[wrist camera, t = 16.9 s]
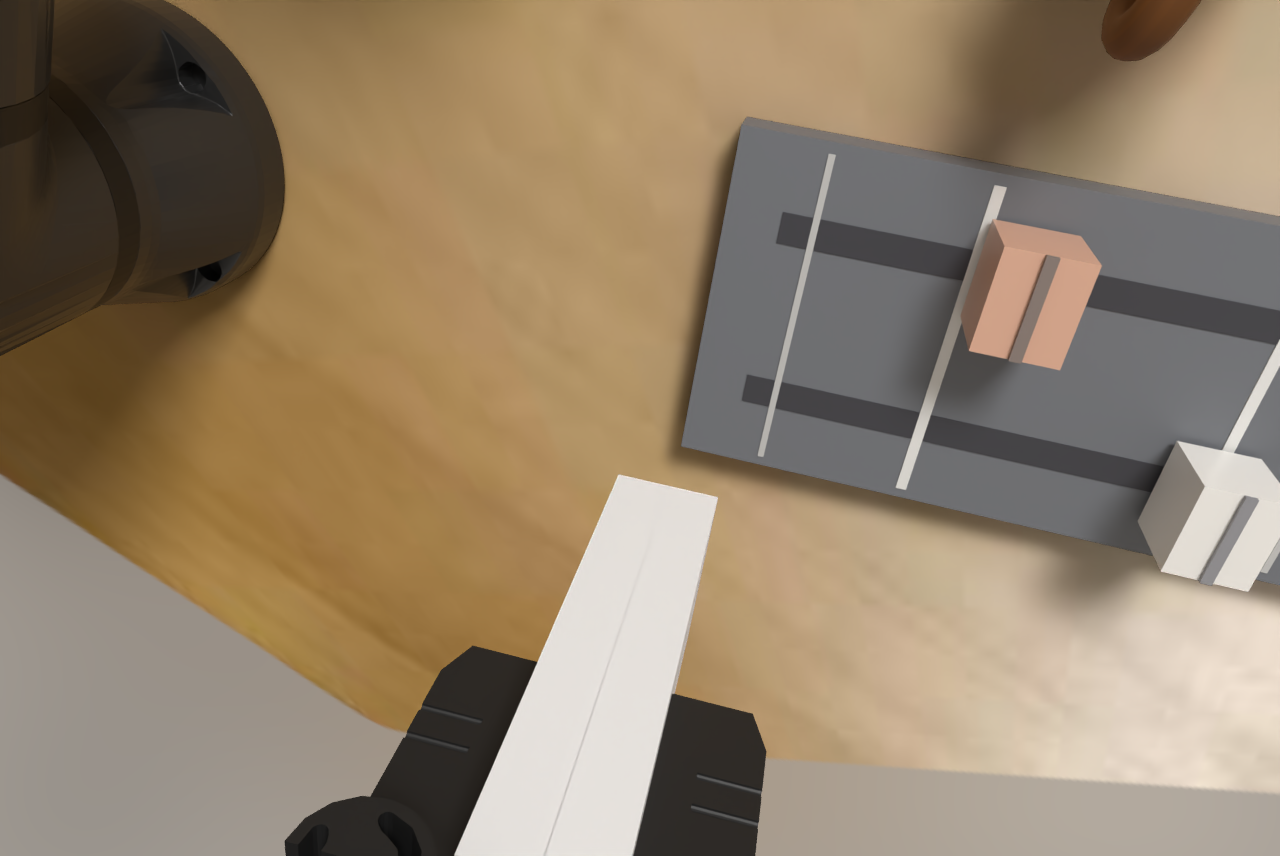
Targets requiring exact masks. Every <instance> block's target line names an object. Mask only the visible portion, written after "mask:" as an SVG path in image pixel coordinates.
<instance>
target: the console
mask: <svg viewBox="0 0 1280 856" xmlns="http://www.w3.org/2000/svg"><path fill="white" fill-rule="evenodd" d="M992 219H996V220H1001V221H1006V222H1011V223H1016V224H1021V225H1026V226H1032V227H1037V228H1042V229H1047V230H1052V231H1057V232H1062V233H1068V234H1073V235H1078V236H1081V237H1082V238H1083V240H1084V241H1085V242H1086V244H1087V245H1088V247H1089V248H1090V249H1091V251H1092V252H1093V254H1094V255H1095V256H1096V258H1097V259H1098V261H1099V262H1100V264H1101V265H1102V267H1101V269H1100V272H1099V274H1098V277H1097V279H1096V282H1095V284H1094V287H1093V289H1092V292H1091V294H1090V297H1089V299H1088V302H1087V304H1086V307H1085V309H1084V312H1083V314H1082V317H1081V319H1080V322H1079V324H1078V327H1077V329H1076V332H1075V334H1074V337H1073V339H1072V342H1071V344H1070V347H1069V349H1068V352H1067V354H1066V357H1065V359H1064V362H1063V364H1062V367H1061V369H1060V370H1056V369H1051V368H1047V367H1042V366H1037V365H1033V364H1028V363H1023V362H1022V363H1021V364H1019V363H1014V362H1010V361H1008V359H1004V358H999V357H995V356H990V355H985V354H981V353H976V352H971V351H969V350H968V346H967V342H966V338H965V334H964V330H963V325H962V321H961V317H960V315H961V312H962V309H963V306H964V303H965V300H966V297H967V294H968V291H969V288H970V285H971V282H972V279H973V276H974V273H975V270H976V267H977V264H978V261H979V258H980V255H981V252H982V249H983V246H984V243H985V240H986V237H987V234H988V231H989V228H990V225H991V222H992ZM1177 441H1180V442H1185V443H1189V444H1194V445H1199V446H1203V447H1208V448H1212V449H1217V450H1222V451H1226V452H1231V453H1235V454H1240V455H1245V456H1249V457H1254V458H1258V459H1262V460H1263V462H1264V463H1265V464H1266V466H1267V467H1268V468H1269V470H1270V471H1271V472H1272V474H1273V475H1274V476H1275V478H1276V479H1277V480H1278V482H1279V483H1280V217H1279V216H1274V215H1269V214H1263V213H1258V212H1253V211H1247V210H1242V209H1237V208H1231V207H1226V206H1221V205H1215V204H1210V203H1205V202H1199V201H1194V200H1189V199H1183V198H1178V197H1173V196H1167V195H1162V194H1157V193H1151V192H1146V191H1141V190H1135V189H1130V188H1125V187H1119V186H1114V185H1109V184H1103V183H1098V182H1093V181H1087V180H1082V179H1077V178H1071V177H1066V176H1061V175H1055V174H1050V173H1045V172H1039V171H1034V170H1029V169H1023V168H1018V167H1012V166H1007V165H1002V164H996V163H991V162H986V161H980V160H975V159H970V158H964V157H959V156H954V155H948V154H943V153H938V152H932V151H927V150H922V149H916V148H911V147H906V146H900V145H895V144H890V143H884V142H879V141H874V140H868V139H863V138H858V137H852V136H847V135H842V134H836V133H831V132H826V131H820V130H815V129H810V128H804V127H799V126H794V125H788V124H783V123H778V122H772V121H767V120H762V119H756V118H751V117H746V119H745V120H744V122H743V123H742V125H741V131H740V136H739V141H738V147H737V152H736V157H735V162H734V168H733V173H732V178H731V184H730V189H729V194H728V200H727V205H726V210H725V216H724V221H723V226H722V231H721V237H720V242H719V247H718V253H717V258H716V263H715V269H714V274H713V279H712V285H711V290H710V295H709V300H708V306H707V311H706V316H705V322H704V327H703V332H702V338H701V343H700V348H699V354H698V359H697V364H696V369H695V375H694V380H693V385H692V391H691V396H690V401H689V407H688V412H687V417H686V423H685V428H684V433H683V439H682V444H681V446H682V447H686V448H691V449H695V450H699V451H703V452H708V453H712V454H716V455H721V456H725V457H729V458H734V459H738V460H742V461H747V462H751V463H755V464H759V465H764V466H768V467H772V468H777V469H781V470H785V471H790V472H794V473H798V474H803V475H807V476H811V477H815V478H820V479H824V480H828V481H833V482H837V483H841V484H846V485H850V486H854V487H858V488H863V489H867V490H871V491H876V492H880V493H884V494H889V495H893V496H897V497H902V498H906V499H910V500H914V501H919V502H923V503H927V504H932V505H936V506H940V507H945V508H949V509H953V510H958V511H962V512H966V513H970V514H975V515H979V516H983V517H988V518H992V519H996V520H1001V521H1005V522H1009V523H1014V524H1018V525H1022V526H1026V527H1031V528H1035V529H1039V530H1044V531H1048V532H1052V533H1057V534H1061V535H1065V536H1070V537H1074V538H1078V539H1082V540H1087V541H1091V542H1095V543H1100V544H1104V545H1108V546H1113V547H1117V548H1121V549H1126V550H1130V551H1134V552H1138V553H1143V554H1147V555H1151V556H1153V554H1152V552H1151V549H1150V547H1149V545H1148V543H1147V541H1146V539H1145V536H1144V534H1143V532H1142V530H1141V528H1140V526H1139V523H1138V519H1139V517H1140V515H1141V513H1142V511H1143V509H1144V507H1145V505H1146V503H1147V501H1148V499H1149V497H1150V495H1151V493H1152V491H1153V489H1154V487H1155V485H1156V483H1157V481H1158V478H1159V476H1160V474H1161V472H1162V470H1163V468H1164V466H1165V464H1166V462H1167V460H1168V458H1169V456H1170V454H1171V452H1172V450H1173V448H1174V446H1175V444H1176V442H1177ZM1255 580H1259V581H1263V582H1268V583H1272V584H1276V585H1280V538H1279V540H1278V542H1277V543H1276V545H1275V547H1274V549H1273V550H1272V552H1271V554H1270V555H1269V557H1268V559H1267V560H1266V562H1265V564H1264V566H1263V567H1262V569H1261V571H1260V572H1259V574H1258V576H1257V578H1256V579H1255Z"/></svg>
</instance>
